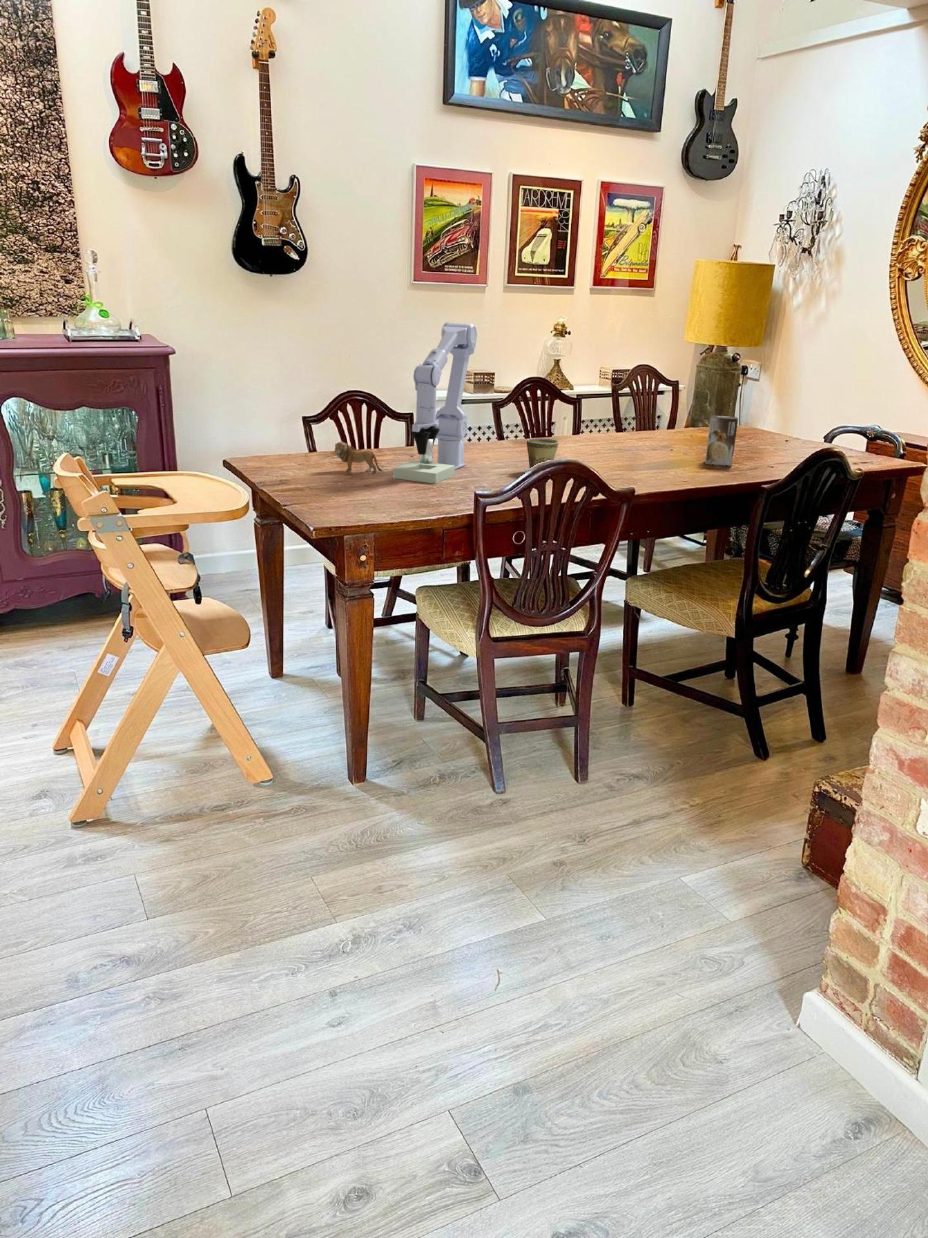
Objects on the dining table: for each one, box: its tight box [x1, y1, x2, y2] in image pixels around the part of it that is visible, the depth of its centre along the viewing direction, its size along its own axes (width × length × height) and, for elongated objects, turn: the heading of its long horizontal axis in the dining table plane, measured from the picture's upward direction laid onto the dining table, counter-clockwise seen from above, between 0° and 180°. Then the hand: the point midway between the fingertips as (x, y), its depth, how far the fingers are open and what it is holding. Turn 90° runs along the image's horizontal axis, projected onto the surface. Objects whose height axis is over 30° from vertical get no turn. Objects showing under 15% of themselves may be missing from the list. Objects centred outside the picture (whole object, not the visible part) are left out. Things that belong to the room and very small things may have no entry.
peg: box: [418, 438, 434, 464], centre depth 262 cm, size 4×4×7 cm
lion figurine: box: [334, 441, 383, 475], centre depth 266 cm, size 15×5×9 cm, turn 90°
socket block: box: [392, 460, 456, 484], centre depth 264 cm, size 14×14×3 cm
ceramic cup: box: [526, 437, 559, 469], centre depth 277 cm, size 13×10×10 cm
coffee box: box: [704, 414, 739, 467], centre depth 302 cm, size 9×6×16 cm
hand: (425, 452), depth 262 cm, fingers closed on peg, 4 cm apart
